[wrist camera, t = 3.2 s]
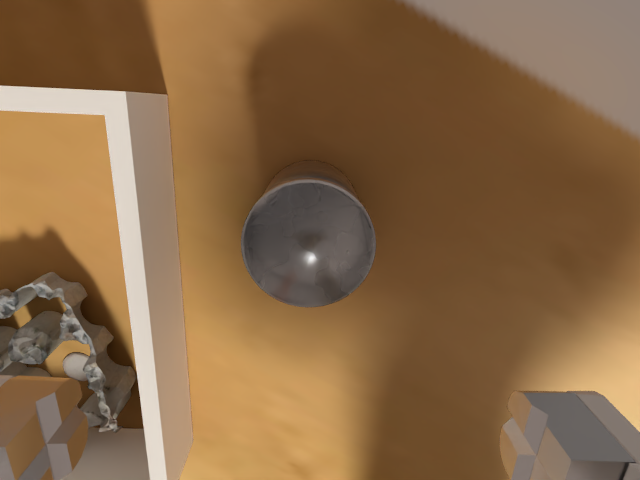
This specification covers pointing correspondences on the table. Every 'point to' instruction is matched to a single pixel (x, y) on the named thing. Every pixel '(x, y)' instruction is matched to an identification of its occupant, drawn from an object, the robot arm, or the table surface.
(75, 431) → the robot arm
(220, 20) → the table surface
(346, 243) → the metal tin
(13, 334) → the egg carton
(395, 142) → the table surface
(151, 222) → the tote
